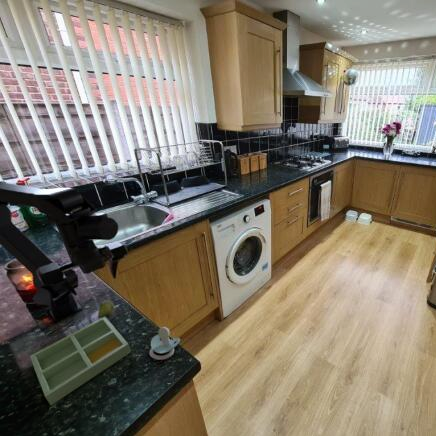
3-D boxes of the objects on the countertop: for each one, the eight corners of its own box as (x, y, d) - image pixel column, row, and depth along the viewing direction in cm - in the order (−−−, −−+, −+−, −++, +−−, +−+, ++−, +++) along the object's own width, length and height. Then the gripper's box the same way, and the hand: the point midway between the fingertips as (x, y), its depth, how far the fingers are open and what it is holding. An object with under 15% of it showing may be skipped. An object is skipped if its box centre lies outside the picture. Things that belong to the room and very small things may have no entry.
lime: (101, 323, 70) (95, 309, 69) (96, 315, 73) (90, 302, 71) (118, 314, 74) (113, 301, 72) (113, 306, 76) (108, 294, 75)
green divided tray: (34, 364, 59) (29, 356, 58) (108, 324, 70) (104, 316, 69) (50, 405, 50) (45, 396, 49) (131, 352, 62) (128, 343, 60)
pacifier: (168, 364, 59) (184, 342, 64) (162, 346, 56) (179, 325, 61) (143, 357, 60) (161, 337, 66) (136, 340, 58) (155, 320, 63)
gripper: (34, 263, 52) (61, 319, 58) (129, 232, 66) (143, 279, 72) (24, 248, 58) (49, 300, 64) (113, 222, 72) (127, 267, 78)
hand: (96, 286), depth 69 cm, fingers open, 9 cm apart
